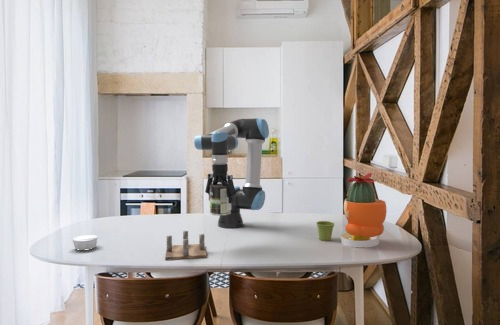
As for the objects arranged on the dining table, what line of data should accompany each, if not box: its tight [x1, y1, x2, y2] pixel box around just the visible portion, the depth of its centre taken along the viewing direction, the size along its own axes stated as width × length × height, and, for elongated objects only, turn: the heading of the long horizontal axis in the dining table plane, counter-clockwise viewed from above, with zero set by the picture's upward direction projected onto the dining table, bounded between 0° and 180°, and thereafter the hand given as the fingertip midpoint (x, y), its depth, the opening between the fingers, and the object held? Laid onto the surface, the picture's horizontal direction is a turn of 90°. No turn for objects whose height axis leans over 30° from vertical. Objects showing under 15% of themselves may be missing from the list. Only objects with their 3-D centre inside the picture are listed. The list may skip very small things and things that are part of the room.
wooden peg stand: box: [164, 230, 207, 261], centre depth 182 cm, size 18×18×8 cm
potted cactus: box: [340, 172, 387, 248], centre depth 196 cm, size 22×22×35 cm
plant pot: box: [315, 220, 335, 242], centre depth 204 cm, size 9×9×9 cm
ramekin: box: [72, 234, 99, 250], centre depth 190 cm, size 11×11×5 cm
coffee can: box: [209, 183, 231, 217], centre depth 191 cm, size 10×10×14 cm
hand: (220, 208), depth 192 cm, fingers closed on coffee can, 10 cm apart
